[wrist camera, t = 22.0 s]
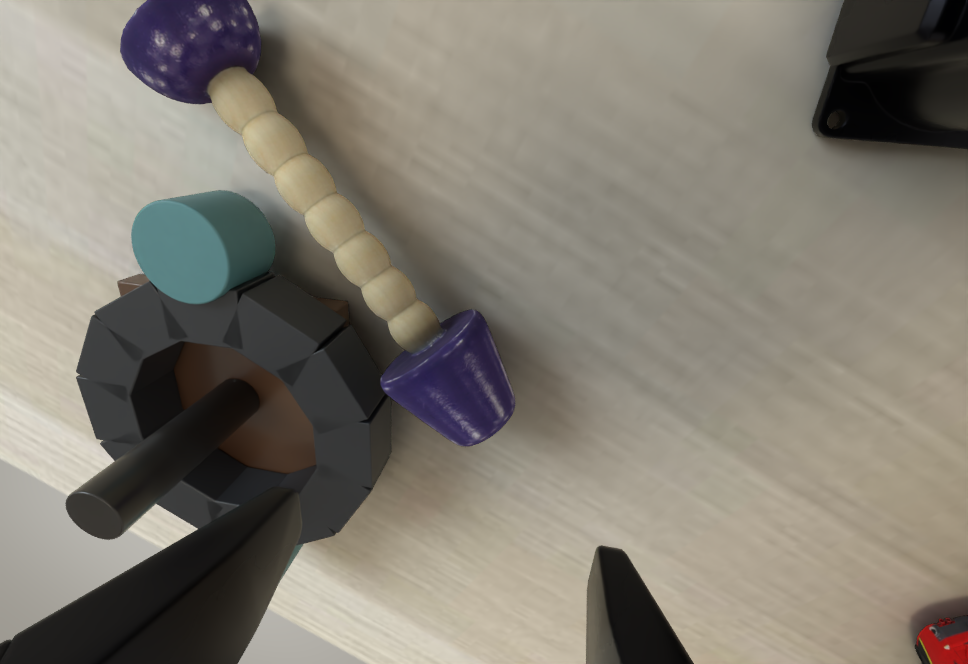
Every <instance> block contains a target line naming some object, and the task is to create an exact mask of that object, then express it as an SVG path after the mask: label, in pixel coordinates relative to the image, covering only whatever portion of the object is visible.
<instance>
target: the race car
mask: <svg viewBox="0 0 968 664" xmlns="http://www.w3.org/2000/svg"><path fill="white" fill-rule="evenodd" d="M915 649H916V652H917V654H918V656H919V658H920V660H921V662H922V664H968V615H965V616H961V617H956V618H954V621H951V619H950V618H946V621H944V620H943V619H939V622H938V623H937V625H936V624H935V623H934V624H931V625H928V626H926V627H925V628H924V629H923V630H922V631H921V632H920V633H919V635H918V637H917V644H916V645H915Z"/></svg>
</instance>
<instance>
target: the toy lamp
mask: <svg viewBox="0 0 968 664" xmlns="http://www.w3.org/2000/svg"><path fill="white" fill-rule="evenodd" d="M120 52H121V54H122V58H123V60H124V62H125V64H126V66H127V68H128V69H129V70H130V71H131V72H132V73H133V74H134V75H135V76H136V77H137V78H139V79H140V80H141V81H142V82H143V83H144V84H146V85H147V86H149V87H150V88H152V89H153V90H155V91H156V92H158V93H160V94H162V95H164V96H166V97H168V98H171V99H173V100H176V101H180V102H184V103H190V104H205V103H212V104H213V106H214V108H215V110H216V111H217V113H218V115H219V116H220V117H221V119H222V120H223V121H224V122H225V123H226V124H227V125H228V126H229V127H230V128H231V129H233V130H234V131H235V132H237V133H239V134H240V135H242V137H243V140H244V144H245V146H246V149H247V151H248V152H249V154H250V156H251V157H252V158H253V160H254V161H255V162H256V163H257V164H258V166H260V167H261V168H262V169H263V170H264V171H266V172H267V173H269V174H270V175H272V176H274V178H275V184H276V186H277V189H278V191H279V193H280V195H281V196H282V197H283V199H284V200H285V201H286V202H287V204H288V205H289V206H290V207H291V208H293V209H294V210H295V211H297V212H299V213H300V214H302V215H304V217H305V221H306V225H307V227H308V229H309V231H310V233H311V234H312V236H313V237H314V238H315V240H316V241H317V242H318V243H319V244H320V245H321V246H323V247H324V248H325V249H327V250H329V251H331V252H332V253H333V254H334V257H335V261H336V263H337V266H338V268H339V269H340V271H341V272H342V274H343V275H344V276H345V277H346V278H347V279H348V280H349V281H350V282H352V283H353V284H354V285H356V286H359V287H360V288H361V290H362V294H363V297H364V300H365V302H366V304H367V305H368V307H369V308H370V309H371V310H372V311H373V312H374V313H375V314H376V315H377V316H378V317H380V318H382V319H384V320H386V321H387V322H388V327H389V331H390V333H391V335H392V337H393V339H394V340H395V341H396V342H397V343H398V345H399V346H400V347H402V348H403V349H404V350H405V351H403V352H402V353H401V354H400V355H399V356H398V357H397V358H396V359H395V360H394V361H393V362H392V363H391V364H390V365H389V366H388V368H387V369H386V370H385V372H384V374H383V375H382V377H381V379H380V384H381V387H382V389H383V390H384V392H385V393H386V394H387V395H388V396H389V397H391V398H392V399H393V400H394V401H396V402H397V403H399V404H400V405H401V406H403V407H404V408H405V409H407V410H408V411H410V412H411V413H412V414H414V415H415V416H416V417H418V418H419V419H420V420H422V421H423V422H425V423H426V424H427V425H429V426H430V427H432V428H433V429H435V430H436V431H437V432H439V433H440V434H442V435H443V436H444V437H446V438H447V439H449V440H450V441H452V442H453V443H455V444H457V445H460V446H473V445H476V444H479V443H481V442H483V441H485V440H486V439H488V438H490V437H491V436H493V435H494V434H495V433H496V432H498V431H499V430H500V429H501V428H502V427H503V426H504V425H505V424H506V423H507V421H508V420H509V419H510V417H511V416H512V414H513V411H514V408H515V396H514V393H513V390H512V387H511V384H510V382H509V379H508V376H507V374H506V371H505V368H504V366H503V363H502V361H501V358H500V355H499V353H498V350H497V348H496V345H495V343H494V340H493V338H492V335H491V332H490V330H489V328H488V325H487V323H486V321H485V319H484V317H483V316H482V315H481V314H480V312H478V311H477V310H472V309H471V310H467V311H463V312H460V313H459V314H457V315H454V316H452V317H451V318H449V319H447V320H445V321H444V322H442V323H439V320H438V318H437V316H436V315H435V313H434V312H433V311H432V309H431V308H430V307H429V306H428V305H426V304H425V303H423V302H421V301H419V300H417V298H416V293H415V290H414V287H413V285H412V284H411V282H410V280H409V279H408V278H407V277H406V276H405V275H404V274H403V273H402V272H401V271H400V270H398V269H397V268H395V267H393V266H392V265H391V262H390V258H389V255H388V253H387V251H386V249H385V247H384V246H383V245H382V243H381V242H380V241H379V240H378V239H377V238H376V237H375V236H373V235H372V234H370V233H369V232H367V231H365V228H364V223H363V220H362V218H361V216H360V214H359V212H358V211H357V210H356V208H355V207H354V205H353V204H352V203H351V202H350V201H349V200H348V199H346V198H345V197H343V196H342V195H340V194H338V193H337V191H336V186H335V183H334V181H333V179H332V177H331V175H330V173H329V172H328V170H327V169H326V168H325V167H324V165H323V164H322V163H321V162H320V161H319V160H317V159H316V158H314V157H313V156H311V155H309V154H308V152H307V148H306V145H305V143H304V140H303V138H302V137H301V135H300V133H299V132H298V130H297V129H296V128H295V127H294V125H293V124H292V123H291V122H290V121H288V120H287V119H286V118H285V117H283V116H282V115H280V114H278V113H277V109H276V105H275V103H274V100H273V98H272V96H271V95H270V93H269V91H268V90H267V89H266V87H265V86H264V85H263V84H262V83H261V82H260V81H259V80H258V79H257V78H256V77H255V76H254V75H253V73H254V72H255V70H256V68H257V65H258V62H259V60H260V55H261V37H260V32H259V26H258V23H257V19H256V17H255V15H254V13H253V10H252V8H251V6H250V5H249V3H248V1H247V0H147V1H146V2H145V3H143V4H142V5H141V6H140V7H139V8H137V9H136V11H135V13H134V14H133V16H132V17H131V19H130V20H129V21H128V23H127V24H126V26H125V28H124V29H123V34H122V37H121V48H120Z"/></svg>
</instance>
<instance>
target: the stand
mask: <svg viewBox="0 0 968 664" xmlns="http://www.w3.org/2000/svg"><path fill="white" fill-rule="evenodd" d="M148 281H150V280H149V279H148V278H147V276H146V275H143V274H138V275H135V276H132V277H129V278H126V279H123V280H120V281H118V282H117V283H118V287H119V291H120V295H121V296H123V295H125V294H127V293H128V292H130V291H132V290H134V289H136V288H137V287H139V286H141V285H143V284H145V283H146V282H148ZM314 298H315V299H317V300H318V301H320V302H321V303H323V304H324V305H326V306H327V307H329V308H330V309H332V310H333V311H335V312H336V313H337V314H339V315H340V316H342V317H343V318H345V319H346V323H345V324H344V326H343V327H346V326H348V325H349V312H348V302H347V301H341V300H333V299H325V298H318V297H314ZM174 373H175V377H176V381H177V386H178V390H179V394H180V399H181V403H182V407H183V410H184V411H183V412H181V413H180V414H179V415H177V416H176V417H175V418H173V419H172V420H170V421H169V422H168V423H166V424H165V425H164V426H162V427H161V428H160V429H158V430H157V431H156V432H154V433H153V434H151V435H150V436H149V437H147V438H146V439H145V440H143V441H142V442H141V443H139V444H138V445H136V446H135V447H134V448H132V449H131V450H130V451H128V452H127V453H126V454H124V455H123V456H121V457H120V458H119V459H117V460H116V461H115V462H113V463H112V464H111V465H109V466H108V467H106V468H105V469H104V470H102V471H101V472H100V473H98V474H97V475H96V476H94V477H93V478H92V479H90V480H89V481H87V482H86V483H85V484H83V485H82V486H81V487H79V488H78V489H77V490H75V491H74V492H72V493H71V494H70V495H69V496H68V498H67V500H66V510H67V512H68V514H69V516H70V518H71V519H72V520H73V521H74V522H75V523H76V525H78V526H79V527H80V528H81V529H82V530H84V531H85V532H87V533H88V534H90V535H92V536H95V537H97V538H101V539H107V540H110V539H115V538H118V537H119V536H121V535H122V534H123V533H124V532H125V531H126V530H128V529H129V528H130V527H131V526H132V525H133V524H134V523H135V522H136V521H137V520H138V519H140V518H141V517H142V516H143V515H144V514H145V513H146V512H147V511H148V510H149V509H151V508H152V507H153V506H154V505H155V504H156V503H157V502H158V501H159V500H160V499H161V498H163V497H164V496H165V495H166V494H167V493H168V492H169V491H170V490H171V489H172V488H174V487H175V486H176V485H177V484H178V483H179V482H180V481H181V480H182V479H183V478H185V477H186V476H187V475H188V474H189V473H190V472H191V471H192V470H193V469H194V468H195V467H197V466H198V465H199V464H200V463H201V462H202V461H203V460H204V459H205V458H206V457H208V456H209V455H210V454H211V453H212V452H213V451H214V450H215V449H216V448H218V449H219V450H221V451H222V452H224V453H226V454H227V455H229V456H230V457H232V458H234V459H235V460H237V461H239V462H240V463H242V464H243V465H245V466H247V467H250V468H256V469H262V470H267V471H273V472H278V473H284V474H290V473H293V472H296V471H299V470H302V469H305V468H308V467H311V466H314V465H316V457H315V446H314V435H313V425H312V424H311V422H310V421H309V419H308V418H307V417H306V415H305V414H304V412H303V411H302V409H301V408H300V406H299V405H298V403H297V402H296V400H295V399H294V397H293V396H292V394H291V393H290V391H289V390H288V389H287V387H286V386H285V384H284V383H283V381H282V380H280V379H279V378H277V377H276V376H274V375H273V374H271V373H269V372H268V371H266V370H265V369H263V368H262V367H260V366H259V365H257V364H256V363H254V362H252V361H251V360H249V359H248V358H246V357H245V356H243V355H242V354H240V353H238V352H237V351H235V350H234V349H231V348H224V347H218V346H211V345H204V344H197V343H190V342H184V344H183V347H182V349H181V352H180V354H179V357H178V359H177V362H176V364H175V366H174Z"/></svg>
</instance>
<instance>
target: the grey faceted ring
mask: <svg viewBox="0 0 968 664" xmlns="http://www.w3.org/2000/svg"><path fill="white" fill-rule="evenodd" d="M131 238H132V246H133V251H134V254H135V257H136V259H137V262H138V264H139V266H140V267H141V269H142V271H143V272H144V274H145V275H146V276H147V278H148V279H149V280H150V281H148V282H146V283H145V284H143V285H141V286H139V287H137V288H136V289H134V290H132V291H130V292H128V293H127V294H125V295H123V296H121V297H120V298H118V299H116V300H114V301H112V302H111V303H109V304H107V305H105V306H103V307H102V308H100V309H98V310H96V311H95V315H93V316H92V317H91V320H90V323H89V327H88V330H87V334H86V338H85V341H84V345H83V348H82V352H81V355H80V359H79V362H78V366H77V370H76V372H77V373H78V374H80V375H79V376H77V377H76V379H77V382H78V385H79V388H80V391H81V394H82V397H83V400H84V403H85V406H86V409H87V412H88V415H89V418H90V421H91V424H92V427H93V430H94V433H95V436H96V439H100V440H103V441H102V442H101V443H100V444H101V446H102V447H103V448H104V449H105V450H106V451H107V453H108V454H109V455H110V456H111V457H112V458H113V459H114V461H116V460H117V459H119V458H120V457H121V456H123V455H124V454H126V453H127V452H128V451H130V450H131V449H132V448H134V447H135V446H136V445H138V444H139V443H141V442H142V441H143V440H145V439H146V438H147V437H149V436H150V435H151V434H153V433H154V432H156V431H157V430H158V429H160V428H161V427H162V426H164V425H165V424H166V423H168V422H169V421H170V420H172V419H173V418H175V417H176V416H177V415H179V414H180V413H181V412H183V411H184V410H183V407H182V403H181V399H180V394H179V390H178V386H177V381H176V377H175V373H174V366H175V364H176V362H177V359H178V357H179V354H180V352H181V349H182V347H183V344H184V342H190V343H197V344H204V345H211V346H218V347H224V348H231V349H234V350H235V351H237V352H238V353H240V354H242V355H243V356H245V357H246V358H248V359H249V360H251V361H252V362H254V363H256V364H257V365H259V366H260V367H262V368H263V369H265V370H266V371H268V372H269V373H271V374H273V375H274V376H276V377H277V378H279V379H280V380H282V381H283V383H284V384H285V386H286V387H287V389H288V390H289V391H290V393H291V394H292V396H293V397H294V399H295V400H296V402H297V403H298V405H299V406H300V408H301V409H302V411H303V412H304V414H305V415H306V417H307V418H308V419H309V421H310V422H311V424H312V425H313V435H314V446H315V457H316V465H314V466H311V467H308V468H305V469H302V470H299V471H296V472H293V473H290V474H284V473H278V472H273V471H267V470H262V469H256V468H250V467H247V466H245V465H243V464H242V463H240V462H239V461H237V460H235V459H234V458H232V457H230V456H229V455H227V454H226V453H224V452H222V451H221V450H219V449H218V448H216V449H215V450H214V451H213V452H212V453H211V454H210V455H209V456H208V457H206V458H205V459H204V460H203V461H202V462H201V463H200V464H199V465H198V466H197V467H195V468H194V469H193V470H192V471H191V472H190V473H189V474H188V475H187V476H186V477H185V478H183V479H182V480H181V481H180V482H179V483H178V484H177V485H176V486H175V487H174V488H172V489H171V490H170V491H169V492H168V493H167V494H166V495H165V496H164V497H163V498H161V499H160V500H159V501H158V502H157V503H156V504H157V505H159V506H161V507H163V508H164V509H166V510H168V511H169V512H171V513H173V514H174V515H176V516H178V517H179V518H181V519H183V520H184V521H186V522H188V523H190V524H191V525H193V526H195V527H196V528H198V529H200V528H201V527H203V526H205V525H207V524H208V523H210V522H212V521H213V520H215V519H217V518H219V517H220V516H222V515H224V514H226V513H227V512H229V511H231V510H232V509H234V508H236V507H238V506H239V505H241V504H243V503H245V502H246V501H248V500H250V499H251V498H253V497H255V496H257V495H258V494H260V493H262V492H264V491H265V490H267V489H269V488H271V487H274V486H279V487H285V488H290V489H294V490H296V491H297V492H298V494H299V500H300V509H301V517H302V531H301V534H300V538H299V540H298V542H297V544H296V546H295V549H294V551H293V553H292V555H291V557H290V560H289V562H288V564H287V566H286V568H285V570H284V573H283V575H282V577H283V576H284V574H285V573H286V571H287V569H288V568H289V566H290V565H291V563H292V561H293V560H294V558H295V557H296V555H297V554H298V552H299V550H300V549H301V547H302V546H303V544H304V543H308V542H312V541H316V540H319V539H323V538H327V537H331V536H334V535H335V534H336V532H337V533H339V532H340V530H341V529H342V528H343V527H344V525H345V524H346V523H347V522H348V520H349V519H350V518H351V516H352V515H353V514H354V513H355V511H356V510H357V509H358V508H359V506H360V505H361V504H362V502H363V501H364V500H365V499H366V497H367V496H368V495H369V494H370V492H371V491H372V489H373V487H374V485H375V483H376V481H377V479H378V477H379V476H380V474H381V472H382V470H383V468H384V466H385V464H386V463H387V461H388V459H389V455H390V453H391V397H389V396H388V395H387V394H386V393H385V392H384V390H383V389H382V387H381V384H380V379H381V377H382V375H381V373H380V372H379V370H378V368H377V367H376V365H375V363H374V362H373V360H372V358H371V357H370V355H369V353H368V352H367V350H366V348H365V347H364V345H363V343H362V342H361V340H360V338H359V337H358V335H357V333H356V332H355V330H354V328H353V327H352V325H348V326H346V327H343V326H344V324H345V323H346V319H345V318H343V317H342V316H340V315H339V314H337V313H336V312H335V311H333V310H332V309H330V308H329V307H327V306H326V305H324V304H323V303H321V302H320V301H318V300H317V299H315V298H314V297H312V296H311V295H309V294H308V293H306V292H305V291H303V290H302V289H300V288H299V287H297V286H296V285H294V284H293V283H292V282H290V281H289V280H287V279H286V278H284V277H283V276H281V275H278V276H276V277H275V276H274V273H273V272H268V270H269V269H270V267H271V265H272V263H273V260H274V256H275V239H274V235H273V231H272V229H271V226H270V224H269V222H268V221H267V219H266V217H265V216H264V214H263V213H262V212H261V211H260V210H259V208H258V207H256V206H255V205H254V204H253V203H252V202H251V201H249V200H248V199H246V198H245V197H243V196H241V195H239V194H236V193H233V192H230V191H221V190H218V191H211V192H205V193H199V194H194V195H188V196H182V197H176V198H170V199H164V200H158V201H155V202H152V203H150V204H148V205H146V206H145V207H144V208H143V209H142V210H141V211H140V212H139V213H138V214H137V216H136V218H135V220H134V223H133V227H132V234H131ZM282 577H281V579H282ZM281 579H280V580H281ZM279 582H280V581H279ZM278 584H279V583H278Z"/></svg>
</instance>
